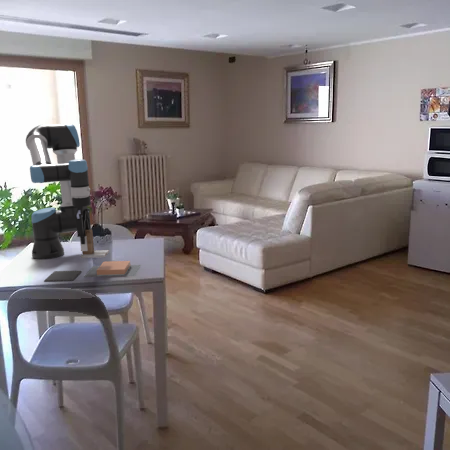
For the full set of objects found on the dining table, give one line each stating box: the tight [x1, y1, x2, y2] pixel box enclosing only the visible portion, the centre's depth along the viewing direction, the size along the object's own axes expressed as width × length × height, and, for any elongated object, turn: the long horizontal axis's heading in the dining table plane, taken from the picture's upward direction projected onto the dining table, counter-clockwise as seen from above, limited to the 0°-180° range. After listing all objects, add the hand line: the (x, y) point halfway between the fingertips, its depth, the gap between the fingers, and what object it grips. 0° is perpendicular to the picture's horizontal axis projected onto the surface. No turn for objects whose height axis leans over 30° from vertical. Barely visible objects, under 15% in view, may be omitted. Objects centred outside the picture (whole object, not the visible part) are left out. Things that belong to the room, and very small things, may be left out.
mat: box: [83, 264, 142, 278], centre depth 206 cm, size 15×22×1 cm
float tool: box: [80, 229, 110, 259], centre depth 203 cm, size 8×10×11 cm
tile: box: [97, 260, 132, 276], centre depth 206 cm, size 12×2×12 cm
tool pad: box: [43, 270, 82, 283], centre depth 200 cm, size 12×12×1 cm
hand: (86, 249), depth 204 cm, fingers closed on float tool, 4 cm apart
